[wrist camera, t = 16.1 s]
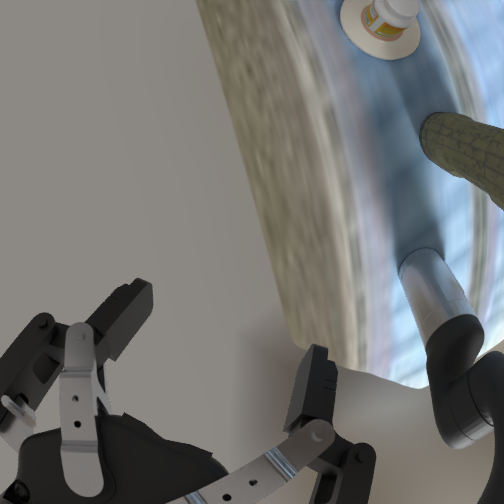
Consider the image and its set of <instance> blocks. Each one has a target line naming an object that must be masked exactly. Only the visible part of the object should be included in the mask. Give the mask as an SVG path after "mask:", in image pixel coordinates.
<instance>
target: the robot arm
mask: <svg viewBox="0 0 504 504" xmlns="http://www.w3.org/2000/svg"><path fill="white" fill-rule="evenodd" d="M399 279H400V282H401V284H402V287H403V289H404V292H405V295H406V297H407V300H408V302H409V305H410V307H411V310H412V313H413V316H414V318H415V321H416V324H417V327H418V330H419V333H420V336H421V338H422V341H423V345H424V348H425V351H426V355H427V362H426V369H427V375H428V380H429V385H430V391H431V397H432V404H433V410H434V416H435V421H436V425H437V428H438V430H439V433H440V435H441V437H442V439H443V440H444V442H445V443H446V444H447V445H448V446H450V447H451V448H454V449H462V448H465V447H467V446H469V445H471V444H473V443H474V442H476V441H478V440H479V439H481V438H482V437H484V436H485V435H487V434H489V433H490V432H491V431H493V430H494V434H495V455H494V462H493V467H492V471H491V474H490V477H489V480H488V483H487V485H486V487H485V489H484V492H483V494H482V496H481V497H480V499H479V501H478V503H477V504H504V354H502V353H501V352H499V351H492V352H489V353H487V354H486V355H485V356H483V357H482V358H481V359H480V360H479V361H477V362H476V363H475V364H474V365H473V363H474V361H475V359H476V357H477V355H478V353H479V352H480V350H481V348H482V345H483V342H484V330H483V328H482V325H481V323H480V321H479V320H478V318H477V316H476V314H475V312H474V310H473V309H472V307H471V305H470V303H469V302H468V300H467V298H466V296H465V295H464V291H463V289H462V287H461V286H460V284H459V282H458V281H457V279H456V278H455V276H454V274H453V273H452V271H451V270H450V268H449V267H448V265H447V264H446V262H445V261H443V260H442V258H441V257H440V255H439V254H438V253H437V252H436V251H435V250H433V249H429V248H423V249H419V250H416V251H414V252H412V253H411V254H410V255H408V256H407V257H406V259H405V260H404V261H403V263H402V264H401V267H400V270H399ZM152 309H153V291H152V284H151V283H149V282H147V281H145V280H142V279H140V278H136V279H135V280H134V281H133V282H132V283H131V284H130V285H128V284H124V285H122V286H120V287H118V288H117V289H115V290H114V292H113V293H112V294H111V295H110V296H109V297H108V298H107V299H106V300H105V302H103V303H102V304H101V305H100V306H99V307H98V308H97V310H96V311H95V312H94V313H93V314H92V315H91V316H90V317H89V318H88V319H87V320H86V321H85V322H84V323H83V322H78V323H75V324H73V325H71V326H68V325H65V324H61V323H57V322H55V320H54V317H53V316H52V315H51V314H49V313H40V314H38V315H37V316H35V317H34V318H33V319H32V320H31V322H30V323H29V324H28V325H27V326H26V327H25V328H24V330H23V331H22V332H21V333H20V334H19V336H18V337H17V338H16V339H15V341H14V342H13V343H12V344H11V345H10V347H9V348H8V349H7V351H6V352H5V353H4V354H3V356H2V357H1V358H0V436H1V437H2V438H3V439H4V440H5V441H6V442H7V443H8V444H9V445H10V446H11V447H12V448H13V449H14V450H16V451H17V452H18V453H19V459H18V460H19V462H18V472H17V476H16V479H15V481H14V482H13V483H12V484H11V485H10V486H9V487H8V488H7V489H6V490H5V491H4V492H3V493H2V494H1V495H0V504H255V503H257V502H258V501H260V500H262V499H263V498H265V497H266V496H268V495H269V494H271V493H272V492H274V491H275V490H277V489H278V488H280V487H281V486H283V485H284V484H285V483H287V482H288V481H290V480H291V479H292V478H293V477H294V476H295V474H296V473H298V472H299V471H300V470H301V469H303V468H304V467H305V466H307V467H309V468H311V469H313V470H314V471H316V472H318V475H317V479H316V482H315V486H314V490H313V492H312V496H311V499H310V502H309V504H367V503H368V499H369V495H370V489H371V485H372V479H373V474H374V467H375V462H376V453H375V450H374V449H373V447H372V446H370V445H369V444H367V443H357V444H353V443H351V442H349V441H347V440H345V439H343V438H342V437H340V436H339V435H338V434H337V433H336V432H335V430H334V428H333V424H332V418H333V411H334V403H335V395H336V392H335V391H336V385H337V384H336V383H337V376H338V371H337V368H336V365H335V362H333V361H330V360H327V358H328V348H326V347H323V346H320V345H316V344H312V345H311V346H310V348H309V350H308V351H307V353H306V354H305V356H304V358H303V359H302V361H301V363H300V365H299V368H298V371H297V375H296V379H295V384H294V388H293V393H292V397H291V401H290V405H289V409H288V414H287V417H286V422H285V425H284V429H283V432H288V433H289V436H288V438H287V439H286V440H284V441H283V442H281V443H280V444H279V445H277V446H276V447H274V448H272V449H271V450H269V451H268V452H266V453H264V454H263V455H261V456H259V457H258V458H256V459H255V460H253V461H251V462H250V463H248V464H246V465H245V466H243V467H241V468H240V469H238V470H236V471H234V472H232V473H231V474H229V473H228V471H227V470H226V469H225V467H224V466H223V465H221V463H220V462H218V461H217V460H216V459H214V458H213V457H211V456H212V454H213V453H211V452H208V451H205V450H203V449H200V448H198V447H195V446H193V445H190V444H185V443H180V442H174V441H170V440H165V439H163V438H162V437H160V436H159V435H158V434H156V433H155V432H154V431H153V430H152V429H151V428H149V427H148V426H147V425H146V424H145V423H143V422H141V421H139V420H137V419H135V418H133V417H132V416H130V415H128V414H126V413H125V412H124V414H123V415H122V416H119V415H113V414H112V409H111V405H110V401H109V398H108V390H107V381H106V368H105V362H106V360H107V359H108V358H110V359H112V360H113V361H116V360H117V358H118V357H119V356H120V354H121V353H122V351H123V350H124V349H125V347H126V346H127V345H128V343H129V342H130V341H131V339H132V338H133V337H134V335H135V334H136V333H137V331H138V330H139V329H140V327H141V326H142V325H143V323H144V322H145V321H146V320H147V318H148V317H149V316H150V314H151V312H152ZM472 365H473V366H472ZM63 368H64V371H62V369H63ZM59 374H60V376H59V400H60V422H61V427H60V428H57V429H53V430H50V431H45V432H41V433H37V434H33V428H35V427H36V416H35V410H36V409H37V407H38V406H39V404H40V403H41V401H42V399H43V398H44V396H45V395H46V393H47V392H48V390H49V389H50V387H51V386H52V384H53V382H54V381H55V380H56V378H57V376H58V375H59Z"/></svg>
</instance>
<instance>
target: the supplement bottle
mask: <svg viewBox="0 0 504 504" xmlns="http://www.w3.org/2000/svg"><path fill="white" fill-rule="evenodd" d="M418 12H419V4H418V2H417V0H373V2H372V3H371V4H370V6H369V7H368V8H367V10H366V11H365V14H364V20H365V23H366V25H367V27H368V28H369V29H370V30H371V31H372V32H373V33H375V34H377V35H379V36H382V37H387V38H388V37H393V36H396V35H397V34H399V33H400V32H402V31H403V30H405V29H407V28H408V27H410V26H411V25H413V24H414V22H415V20H416V15H417V14H418Z"/></svg>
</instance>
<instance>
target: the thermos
mask: <svg viewBox="0 0 504 504" xmlns="http://www.w3.org/2000/svg"><path fill="white" fill-rule="evenodd" d="M419 137H420V144H421V147H422V149H423V152H424V154H425V155H426V156H427V157H428V159H429V160H431V161H432V162H434V163H435V164H436V165H438V166H439V167H440V168H442V169H443V170H445V171H447V172H448V173H450V174H451V175H453V176H456V177H459V178H465V179H466V180H468V181H470V182H471V183H473V184H474V185H476V186H477V187H479V188H480V189H482V190H483V191H484V192H486V193H487V194H489V196H490V197H491V199H492V201H493V202H494V203H495V204H496V205H497V206H498V207H500V208H501V209H502V210H503V211H504V129H501V128H498V127H495V126H491V125H487V124H483V123H480V122H476V121H474V120H472V119H471V118H470V117H467V116H465V115H462V114H456V113H451V112H445V113H444V112H435V113H433V114H431V115H429V116H428V117H427V118H426V119H425V120H424V121H423V124H422V126H421V128H420V136H419Z"/></svg>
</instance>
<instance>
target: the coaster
mask: <svg viewBox="0 0 504 504" xmlns="http://www.w3.org/2000/svg"><path fill="white" fill-rule="evenodd" d="M372 2H373V0H345V1H344V2H343V4H342V7H341V10H340V23H341V27H342V29H343V31H344V33H345V35H346V36H347V38H348V39H349V40H350V41H351V43H352V44H353V45H354V46H356V47H357V48H358V49H359V50H361V51H362V52H364V53H366V54H367V55H369V56H372V57H374V58H378V59H382V60H398V59H401V58H404V57H407V56H409V55H410V54H412V53H413V52H414V51H415V50H416V49H417V47H418V45H419V43H420V38H421V32H420V26H419V23H418V21H417V19H416V20H415V22H414V24H413V25H411V26H410V27H408V28H407V29H405V30H403V31H402V32H400V33H399V34H397V35H396V36H393V37H388V38H387V37H382V36H379V35H377V34H375V33H373V32H372V31H371V30H370V29H369V28H368V27H367V25H366V23H365V20H364V14H365V11H366V10H367V8H368V7H369V6H370V4H371V3H372Z"/></svg>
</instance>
